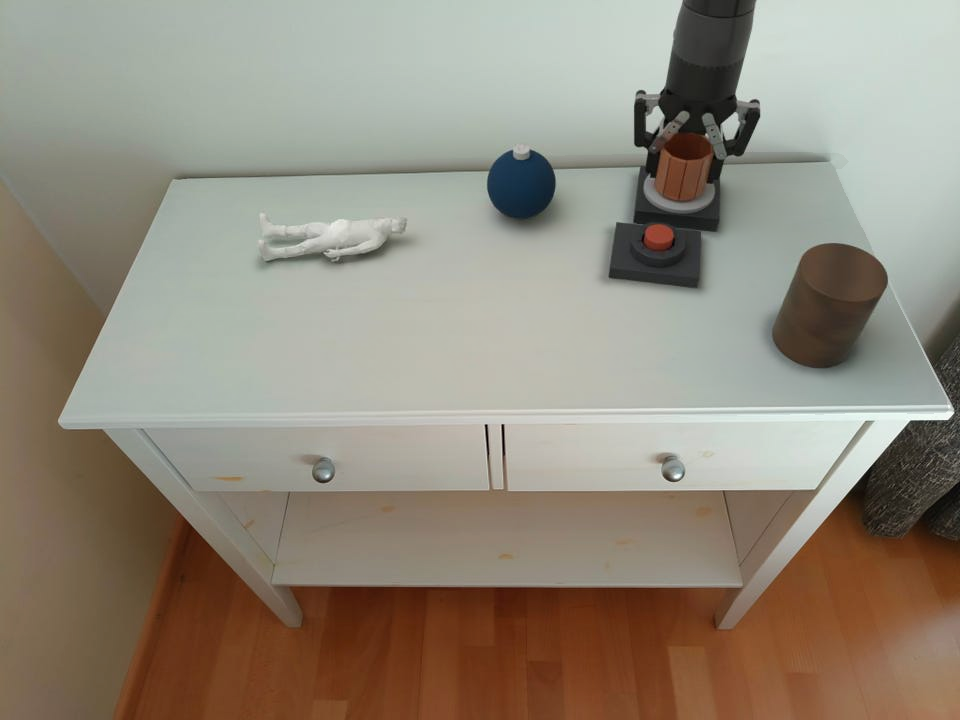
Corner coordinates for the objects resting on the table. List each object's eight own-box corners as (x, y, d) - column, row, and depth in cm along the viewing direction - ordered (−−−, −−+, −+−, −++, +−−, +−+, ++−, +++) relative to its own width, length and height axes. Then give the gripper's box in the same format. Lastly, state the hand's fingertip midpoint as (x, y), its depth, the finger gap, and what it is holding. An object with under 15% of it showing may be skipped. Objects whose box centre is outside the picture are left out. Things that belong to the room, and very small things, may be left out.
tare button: (672, 234, 85) (674, 225, 84) (671, 253, 83) (673, 244, 82) (644, 231, 86) (646, 222, 85) (642, 250, 84) (644, 241, 83)
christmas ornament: (531, 182, 96) (532, 114, 89) (567, 217, 92) (572, 149, 84) (476, 204, 94) (472, 137, 86) (510, 242, 89) (509, 174, 82)
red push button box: (698, 241, 88) (703, 221, 86) (696, 288, 83) (702, 269, 81) (615, 231, 90) (617, 212, 87) (608, 277, 85) (611, 258, 83)
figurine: (259, 211, 89) (405, 189, 89) (270, 234, 93) (411, 213, 92) (255, 254, 85) (408, 231, 85) (267, 276, 89) (414, 255, 88)
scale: (716, 185, 95) (721, 168, 92) (716, 231, 89) (720, 215, 87) (638, 178, 96) (641, 161, 94) (632, 222, 91) (635, 206, 89)
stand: (847, 315, 80) (882, 247, 72) (854, 373, 75) (893, 306, 67) (770, 306, 81) (797, 238, 73) (773, 362, 76) (802, 295, 68)
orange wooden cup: (704, 174, 92) (714, 132, 87) (703, 206, 88) (714, 164, 83) (655, 169, 93) (662, 128, 88) (652, 201, 89) (659, 159, 84)
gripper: (636, 58, 75) (618, 190, 88) (783, 69, 73) (742, 203, 86) (642, 22, 80) (624, 153, 93) (780, 31, 77) (741, 164, 90)
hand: (681, 176), depth 89 cm, fingers closed on orange wooden cup, 6 cm apart
